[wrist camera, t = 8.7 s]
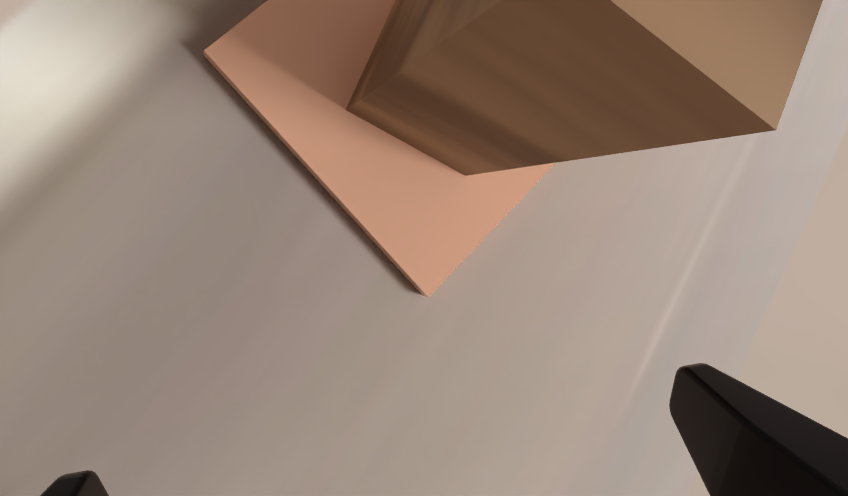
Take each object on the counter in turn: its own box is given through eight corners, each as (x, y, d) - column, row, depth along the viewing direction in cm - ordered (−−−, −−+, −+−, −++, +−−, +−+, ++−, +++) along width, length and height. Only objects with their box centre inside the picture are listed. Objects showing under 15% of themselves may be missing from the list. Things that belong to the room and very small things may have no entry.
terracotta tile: (422, 295, 21) (428, 297, 20) (203, 55, 18) (203, 50, 17) (598, 109, 24) (608, 106, 23) (436, -130, 20) (443, -140, 20)
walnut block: (465, 175, 21) (775, 129, 10) (345, 109, 19) (559, -41, 8) (515, 57, 21) (864, -115, 10) (403, -18, 19) (679, -329, 8)
